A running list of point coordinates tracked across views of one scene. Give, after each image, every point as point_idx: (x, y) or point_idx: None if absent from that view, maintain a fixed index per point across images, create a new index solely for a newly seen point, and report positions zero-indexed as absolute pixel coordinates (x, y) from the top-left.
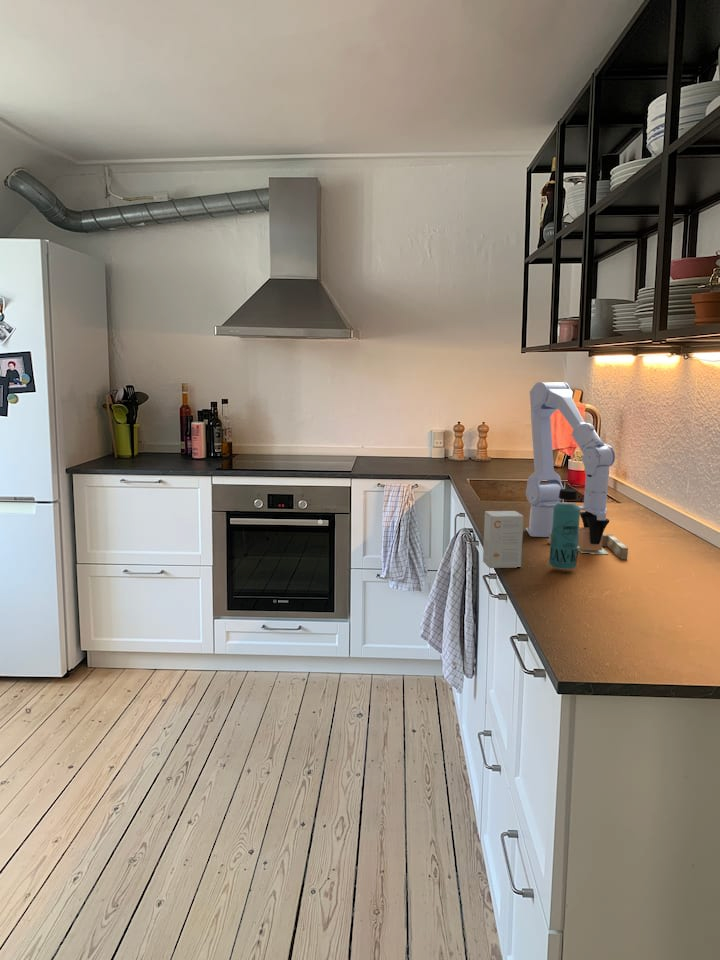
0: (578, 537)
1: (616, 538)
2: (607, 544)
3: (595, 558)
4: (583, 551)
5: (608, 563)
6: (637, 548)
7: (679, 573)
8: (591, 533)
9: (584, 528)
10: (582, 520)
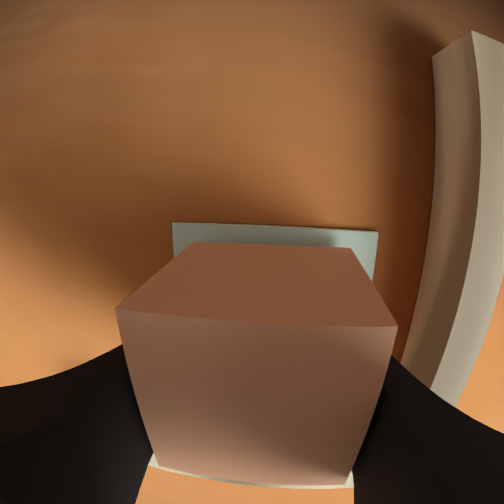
0: (364, 271)
1: (312, 488)
2: None
3: (89, 280)
4: None
5: (35, 309)
6: (327, 494)
7: None
8: (91, 365)
9: (315, 379)
10: (476, 429)
